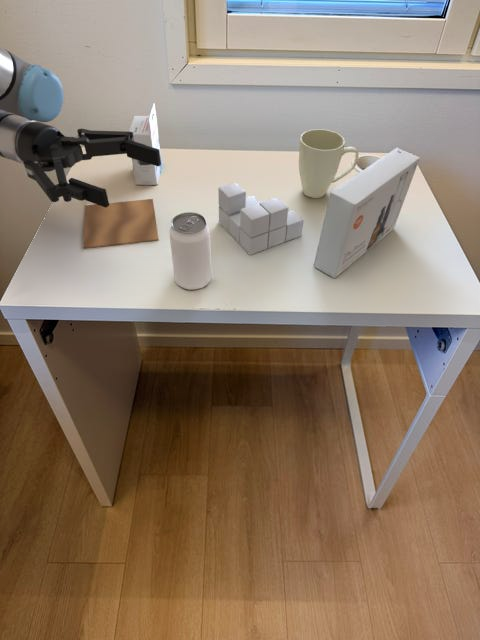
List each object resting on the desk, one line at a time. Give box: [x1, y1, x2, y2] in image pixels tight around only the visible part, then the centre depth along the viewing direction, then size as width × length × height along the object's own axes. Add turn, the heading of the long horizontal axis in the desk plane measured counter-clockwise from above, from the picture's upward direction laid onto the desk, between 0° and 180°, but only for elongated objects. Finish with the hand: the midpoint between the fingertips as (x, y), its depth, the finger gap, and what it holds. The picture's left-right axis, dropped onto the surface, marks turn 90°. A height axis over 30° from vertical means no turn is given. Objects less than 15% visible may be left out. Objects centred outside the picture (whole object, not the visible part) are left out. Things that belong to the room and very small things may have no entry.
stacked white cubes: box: [217, 182, 305, 256], centre depth 90 cm, size 12×12×8 cm
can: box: [169, 211, 212, 291], centre depth 78 cm, size 6×6×12 cm
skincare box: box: [313, 147, 421, 279], centre depth 84 cm, size 21×5×16 cm, turn 137°
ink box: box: [128, 102, 163, 186], centre depth 100 cm, size 9×5×15 cm, turn 179°
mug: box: [298, 128, 359, 199], centre depth 98 cm, size 11×10×12 cm
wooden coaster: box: [83, 198, 160, 249], centre depth 93 cm, size 14×14×1 cm
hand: (134, 177), depth 73 cm, fingers open, 13 cm apart
